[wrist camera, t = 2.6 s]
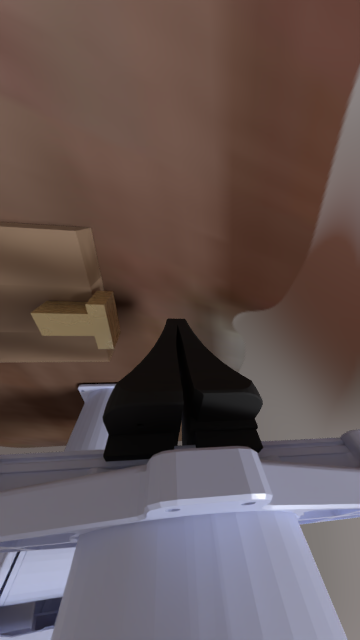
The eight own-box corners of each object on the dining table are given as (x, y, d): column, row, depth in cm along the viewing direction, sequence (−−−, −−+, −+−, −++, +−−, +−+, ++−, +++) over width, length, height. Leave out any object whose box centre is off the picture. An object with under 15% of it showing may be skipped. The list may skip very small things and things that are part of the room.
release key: (120, 331, 15) (113, 349, 13) (59, 331, 14) (44, 349, 12) (113, 291, 13) (104, 304, 11) (41, 289, 12) (18, 302, 10)
